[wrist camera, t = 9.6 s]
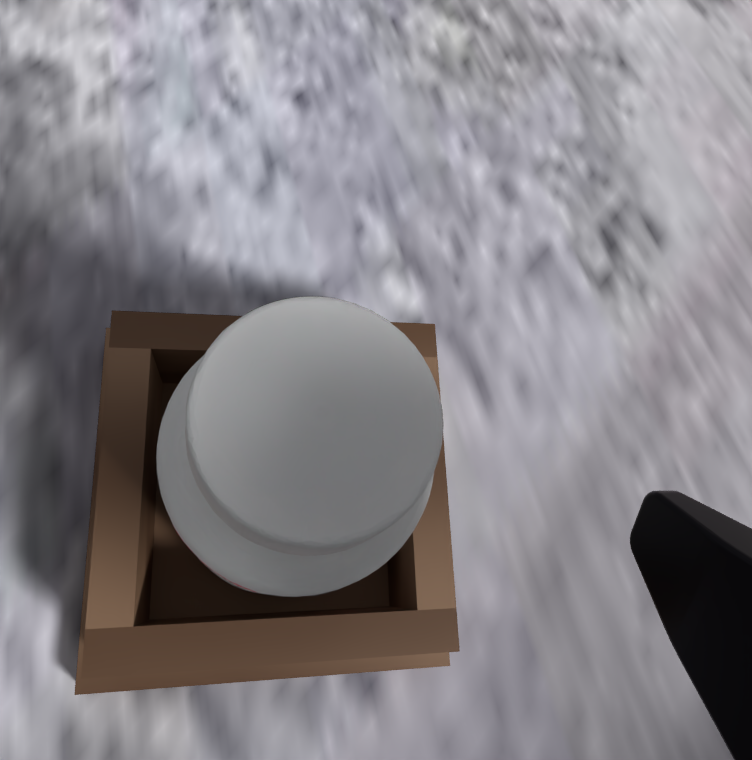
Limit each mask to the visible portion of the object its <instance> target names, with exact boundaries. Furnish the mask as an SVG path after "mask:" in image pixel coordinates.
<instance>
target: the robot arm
mask: <svg viewBox="0 0 752 760" xmlns="http://www.w3.org/2000/svg"><path fill="white" fill-rule="evenodd" d="M630 545H631V550H632V553H633V555H634V557H635V560H636V562H637V564H638V567H639V569H640V571H641V574H642V576H643V578H644V581H645V583H646V585H647V588H648V590H649V592H650V595H651V597H652V599H653V602H654V604H655V607H656V609H657V611H658V614H659V616H660V618H661V621H662V623H663V625H664V628H665V630H666V632H667V634H668V636H669V639H670V641H671V643H672V645H673V647H674V649H675V651H676V653H677V655H678V657H679V659H680V661H681V662H682V664H683V666H684V668H685V670H686V672H687V673H688V675H689V677H690V679H691V681H692V683H693V685H694V686H695V688H696V690H697V692H698V694H699V696H700V697H701V699H702V701H703V703H704V705H705V707H706V708H707V710H708V712H709V714H710V716H711V718H712V720H713V721H714V723H715V725H716V727H717V729H718V731H719V732H720V734H721V736H722V738H723V740H724V742H725V743H726V745H727V747H728V749H729V751H730V753H731V754H732V756H733V758H734V760H752V529H751V528H749V527H747V526H745V525H743V524H741V523H739V522H737V521H735V520H733V519H732V518H730V517H728V516H726V515H724V514H722V513H720V512H718V511H716V510H714V509H712V508H710V507H708V506H706V505H704V504H702V503H700V502H698V501H696V500H694V499H692V498H690V497H688V496H686V495H684V494H682V493H680V492H677V491H652V492H650V493H648V494H647V495H646V496H645V498H644V500H643V503H642V505H641V508H640V510H639V513H638V516H637V518H636V521H635V524H634V526H633V529H632V531H631V536H630Z"/></svg>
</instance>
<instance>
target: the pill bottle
mask: <svg viewBox="0 0 752 760" xmlns="http://www.w3.org/2000/svg"><path fill="white" fill-rule="evenodd" d="M442 437H443V413H442V406H441V401H440V396H439V392H438V389H437V386H436V382H435V380H434V378H433V375H432V373H431V371H430V369H429V367H428V365H427V363H426V362H425V360H424V358H423V356H422V355H421V354H420V352H419V351H418V349H417V348H416V346H415V345H414V344H413V343H412V342H411V341H410V340H409V339H408V337H407V336H406V335H405V334H404V333H403V332H401V331H400V330H399V329H398V328H397V327H395V326H394V325H393V324H392V323H390V322H389V321H388V320H386V319H385V318H383V317H381V316H380V315H378V314H376V313H375V312H373V311H371V310H369V309H366V308H364V307H361V306H359V305H357V304H354V303H351V302H347V301H344V300H340V299H335V298H328V297H314V296H307V297H294V298H288V299H283V300H279V301H275V302H272V303H269V304H266V305H263V306H261V307H259V308H256V309H254V310H252V311H250V312H249V313H247V314H245V315H244V316H242V317H241V318H239V319H238V320H236V321H235V322H234V323H232V324H231V325H230V326H228V327H227V328H226V329H225V330H224V331H222V332H221V334H220V335H219V336H218V337H217V338H216V339H215V341H214V342H213V343H212V344H211V346H210V347H209V348H208V350H207V351H206V353H205V354H204V356H203V357H201V358H200V359H199V360H198V361H197V362H196V363H195V364H194V365H193V366H192V367H191V368H190V369H189V371H188V372H187V373H186V374H185V375H184V377H183V378H182V380H181V381H180V383H179V384H178V386H177V387H176V389H175V391H174V392H173V394H172V396H171V398H170V400H169V402H168V405H167V408H166V410H165V413H164V416H163V418H162V422H161V426H160V430H159V436H158V442H157V456H156V460H157V476H158V482H159V487H160V493H161V497H162V499H163V502H164V505H165V508H166V510H167V512H168V515H169V517H170V519H171V521H172V524H173V526H174V528H175V530H176V532H177V533H178V535H179V536H180V538H181V539H182V541H183V542H184V543H185V544H186V545H187V547H188V548H189V549H190V550H191V551H192V552H193V553H194V554H195V555H196V556H197V557H198V559H199V560H200V561H201V562H202V563H203V564H204V565H205V566H206V567H207V568H209V569H210V570H211V571H212V572H213V573H214V574H215V575H217V576H218V577H219V578H220V579H222V580H224V581H225V582H227V583H228V584H230V585H232V586H234V587H237V588H239V589H242V590H245V591H248V592H252V593H259V594H265V595H272V596H282V597H301V596H317V595H321V594H326V593H329V592H332V591H336V590H339V589H341V588H343V587H346V586H348V585H350V584H352V583H355V582H357V581H359V580H361V579H363V578H365V577H366V576H368V575H370V574H371V573H373V572H374V571H376V570H377V569H379V568H380V567H381V566H383V565H384V564H385V563H386V562H387V561H388V560H389V559H391V558H392V557H393V556H394V555H395V554H396V553H397V552H398V551H399V549H400V548H401V547H402V546H403V545H404V544H405V542H406V541H407V539H408V538H409V537H410V535H411V534H412V533H413V531H414V529H415V528H416V526H417V524H418V522H419V520H420V518H421V516H422V514H423V512H424V510H425V507H426V505H427V502H428V499H429V496H430V492H431V488H432V483H433V476H434V471H435V468H436V465H437V462H438V458H439V454H440V450H441V446H442Z"/></svg>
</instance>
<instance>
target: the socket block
mask: <svg viewBox="0 0 752 760" xmlns="http://www.w3.org/2000/svg"><path fill="white" fill-rule="evenodd" d="M241 317H242V316H229V315H205V314H181V313H157V312H133V311H112V316H111V327H110V328H106V336H105V348H104V359H103V371H102V383H101V394H100V406H99V417H98V429H97V441H96V452H95V464H94V475H93V487H92V499H91V510H90V522H89V534H88V545H87V557H86V568H85V580H84V592H83V603H82V615H81V626H80V638H79V650H78V661H77V673H76V685H75V695H79V694H92V693H104V692H117V691H130V690H143V689H156V688H169V687H182V686H195V685H208V684H221V683H233V682H246V681H259V680H272V679H285V678H298V677H311V676H324V675H337V674H349V673H362V672H375V671H388V670H401V669H414V668H427V667H440V666H450V659H449V652H458V651H459V638H458V625H457V612H456V598H455V585H454V572H453V559H452V545H451V532H450V519H449V506H448V493H447V479H446V466H445V453H444V440H443V437H442V446H441V450H440V454H439V458H438V462H437V465H436V468H435V471H434V476H433V483H432V488H431V492H430V496H429V499H428V502H427V505H426V507H425V510H424V512H423V514H422V516H421V518H420V520H419V522H418V524H417V526H416V528H415V529H414V531H413V533H412V534H411V535H410V537H409V538H408V539H407V541H406V542H405V544H404V545H403V546H402V547H401V548H400V549H399V551H398V552H397V553H396V554H395V555H394V556H393V557H392V558H391V559H389V560H388V561H387V562H386V563H385V564H384V565H383V566H381V567H380V568H379V569H377V570H376V571H374V572H373V573H371V574H370V575H368V576H366V577H365V578H363V579H361V580H359V581H357V582H355V583H352V584H350V585H348V586H346V587H343V588H341V589H339V590H336V591H332V592H329V593H326V594H321V595H317V596H301V597H282V596H272V595H265V594H259V593H252V592H248V591H245V590H242V589H239V588H237V587H234V586H232V585H230V584H228V583H227V582H225V581H224V580H222V579H220V578H219V577H218V576H217V575H215V574H214V573H213V572H212V571H211V570H210V569H209V568H207V567H206V566H205V565H204V564H203V563H202V562H201V561H200V560H199V559H198V557H197V556H196V555H195V554H194V553H193V552H192V551H191V550H190V549H189V548H188V547H187V545H186V544H185V543H184V542H183V541H182V539H181V538H180V536H179V535H178V533H177V532H176V530H175V528H174V526H173V524H172V521H171V519H170V517H169V515H168V512H167V510H166V508H165V505H164V502H163V499H162V497H161V493H160V487H159V482H158V476H157V460H156V456H157V442H158V436H159V430H160V426H161V422H162V418H163V416H164V413H165V410H166V408H167V405H168V402H169V400H170V398H171V396H172V394H173V392H174V391H175V389H176V387H177V386H178V384H179V383H180V381H181V380H182V378H183V377H184V375H185V374H186V373H187V372H188V371H189V369H190V368H191V367H192V366H193V365H194V364H195V363H196V362H197V361H198V360H199V359H200V358H201V357H203V356H204V354H205V353H206V351H207V350H208V348H209V347H210V346H211V344H212V343H213V342H214V341H215V339H216V338H217V337H218V336H219V335H220V334H221V332H222V331H224V330H225V329H226V328H227V327H228V326H230V325H231V324H232V323H234V322H235V321H236V320H238V319H239V318H241ZM390 323H392V324H393V325H394V326H395V327H397V328H398V329H399V330H400V331H401V332H403V333H404V334H405V335H406V336H407V337H408V339H409V340H410V341H411V342H412V343H413V344H414V345H415V346H416V348H417V349H418V351H419V352H420V354H421V355H422V356H423V358H424V360H425V362H426V363H427V365H428V367H429V369H430V371H431V373H432V375H433V378H434V380H435V382H436V386H437V389H438V392H439V396H440V387H439V373H438V360H437V347H436V334H435V324H421V323H397V322H390ZM440 401H441V400H440Z"/></svg>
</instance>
